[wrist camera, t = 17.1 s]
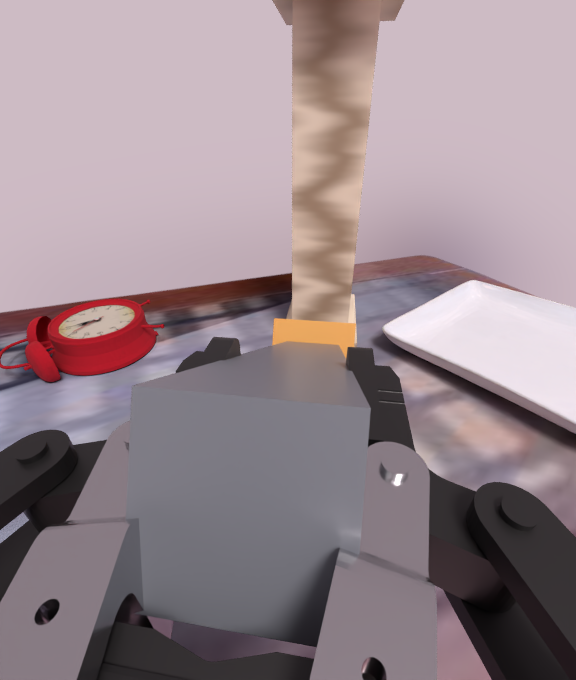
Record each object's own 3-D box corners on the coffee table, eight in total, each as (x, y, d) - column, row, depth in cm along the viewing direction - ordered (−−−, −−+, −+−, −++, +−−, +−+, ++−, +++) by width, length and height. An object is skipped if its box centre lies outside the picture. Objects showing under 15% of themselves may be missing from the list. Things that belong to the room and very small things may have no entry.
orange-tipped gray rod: (62, 600, 5) (75, 281, 5) (281, 378, 29) (285, 320, 29) (425, 666, 5) (458, 301, 4) (346, 383, 28) (350, 324, 28)
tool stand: (269, 357, 36) (251, -84, 19) (288, 300, 48) (286, -5, 31) (364, 365, 35) (433, -99, 18) (359, 305, 46) (398, -11, 30)
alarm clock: (171, 325, 35) (-22, 337, 27) (169, 375, 38) (-7, 401, 29) (148, 290, 42) (-7, 291, 34) (148, 334, 45) (3, 345, 37)
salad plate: (372, 351, 37) (377, 324, 36) (465, 298, 49) (472, 275, 47) (613, 482, 24) (640, 449, 22) (665, 365, 35) (685, 337, 33)
